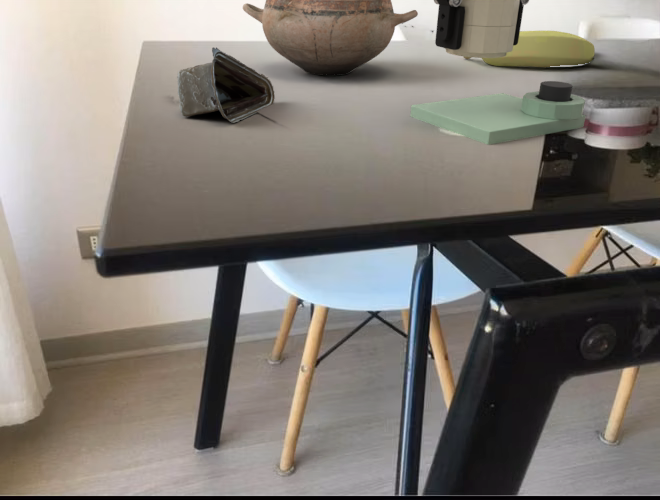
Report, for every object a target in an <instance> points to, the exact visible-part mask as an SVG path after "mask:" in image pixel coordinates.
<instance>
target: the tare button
mask: <svg viewBox="0 0 660 500" xmlns="http://www.w3.org/2000/svg"><path fill="white" fill-rule="evenodd" d="M538 90H539V96H538V99H542V100H546V101H554V102H568V101H570V97H571V95H572V92H573V85H572V83H569V82H564V81H557V80H556V81H555V80H545V81H542V82H540V85H539V89H538Z"/></svg>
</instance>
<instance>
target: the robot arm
mask: <svg viewBox="0 0 660 500" xmlns="http://www.w3.org/2000/svg"><path fill="white" fill-rule="evenodd" d="M433 2H434V4H436V5H438V10H437V11H438V12H437V21H436V31H435V40H434V41H435V43H434V44H435V46H436V47H438V48H443V49H445V48H447V49H452V50H458V49H459V48H460V47H461V42H462V34H463V25H464V17H465V7H462V6H459V5H460V4H461V2H462V0H433ZM529 2H530V0H520V3H519V9H518V16H517V23H516V29H515V36H514V43H513V45H517V44H518V40H519V33H520V31H521V26H522V19H523V13H524V6H526V5H528V4H529Z"/></svg>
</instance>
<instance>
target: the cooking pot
mask: <svg viewBox="0 0 660 500" xmlns="http://www.w3.org/2000/svg"><path fill="white" fill-rule="evenodd" d="M242 10H243V11H244V12H245V13H246V14H247V15H248V16H250V17H252V18H253V19H255V20H256V21H258V22H259V23H260V24H261V25H262V31H263V34H264V37H265V39H266V41H267V43H268V44H269V46H271V48H272V49H273V50H274V51H275V52H276V53H278V54H279V55H280V56H282V57H283V58H284V59H286V60H288V61H289V62H290V63H292V64H294V66H297V67H298V68H300V69H302V70H303V71H304V72H305V73H307V74H310V75H314V76H315V75H316V76H325V77H329V76H333V77H334V76H335V77H336V76H344V75H348V74H350V73H352V72H353V71H355V70H356V69H358V68H359V67H361V66H363V65H365V64H367V63H369V62H370V61H371V60H373V59H375V58H376V57H377V56H380V54H381V53H382V52H384V51H385V49H386V48H388V46H389V44H390V42H391V41H392V38H393V36H394V33H395V29H396V27H397V26H398V25H400V24H405V23H408V22H409V21H411V20H414V18H416V17H418V15H419V13H418V11H417V10H416V9H411V10H410V11H408V12H404V13H395V11H394V6H393V1H392V0H265V2H264V6H263V8H260V7H258V6H255V5H254V4H251V3H244V4H243V5H242Z"/></svg>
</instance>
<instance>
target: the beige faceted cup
mask: <svg viewBox="0 0 660 500" xmlns="http://www.w3.org/2000/svg"><path fill="white" fill-rule="evenodd" d="M519 3H520V0H462V2H461V4H460V5H459V6H462V7H465V17H464V25H463V34H462V42H461V47H460V48H459V49H458V50H452V49H447V48H444V49H445V53H447V54H449V55H453V56H458V57H463V56H464V57H472V58H475V59H482V58H499V57H504V56H506V55H507V52H511V51H512V49H513V43H514V36H515V29H516V23H517V16H518V9H519ZM464 57H463V58H464Z"/></svg>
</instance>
